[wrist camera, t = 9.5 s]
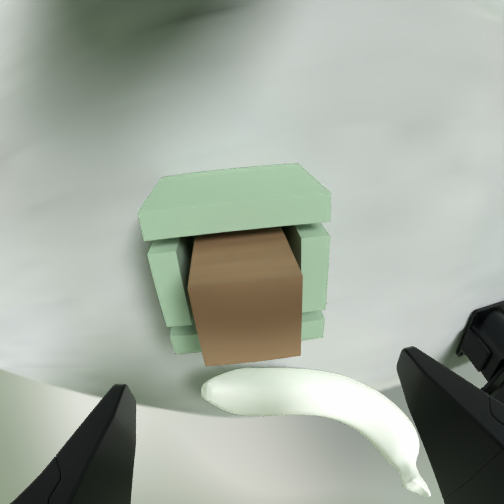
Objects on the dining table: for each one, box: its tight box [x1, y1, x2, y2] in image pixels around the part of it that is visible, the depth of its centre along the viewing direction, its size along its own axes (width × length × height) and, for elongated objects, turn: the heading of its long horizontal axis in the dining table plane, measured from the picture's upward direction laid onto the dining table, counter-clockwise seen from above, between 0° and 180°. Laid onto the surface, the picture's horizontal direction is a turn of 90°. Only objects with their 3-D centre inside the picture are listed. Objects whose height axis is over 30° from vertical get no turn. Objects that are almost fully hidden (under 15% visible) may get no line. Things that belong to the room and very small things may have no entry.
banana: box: [201, 368, 431, 496], centre depth 20 cm, size 5×19×15 cm, turn 71°
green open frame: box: [138, 163, 331, 354], centre depth 17 cm, size 8×8×6 cm
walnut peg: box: [188, 226, 303, 366], centre depth 16 cm, size 4×4×9 cm
